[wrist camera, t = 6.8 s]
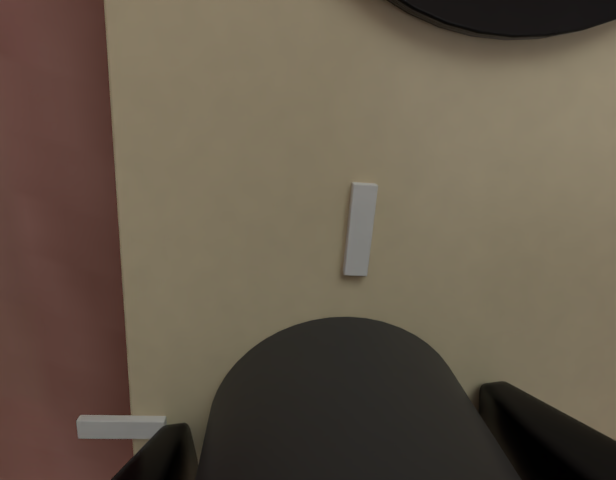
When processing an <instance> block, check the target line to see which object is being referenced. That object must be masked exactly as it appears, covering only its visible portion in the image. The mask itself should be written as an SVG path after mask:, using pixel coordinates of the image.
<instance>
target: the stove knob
mask: <svg viewBox="0 0 616 480" xmlns="http://www.w3.org/2000/svg"><path fill="white" fill-rule="evenodd" d="M195 480H521V478H520V477H519V475H518V474H517V472H516V470H515V469H514V467H513V466H512V464H511V463H510V461H509V460H508V458H507V456H506V455H505V453H504V452H503V450H502V449H501V447H500V445H499V444H498V442H497V441H496V439H495V438H494V436H493V435H492V433H491V431H490V430H489V428H488V427H487V425H486V424H485V422H484V421H483V419H482V417H481V416H480V414H479V413H478V411H477V410H476V408H475V406H474V405H473V403H472V402H471V400H470V399H469V397H468V396H467V394H466V392H465V391H464V389H463V388H462V386H461V385H460V383H459V382H458V380H457V378H456V377H455V375H454V374H453V372H452V371H451V369H450V367H449V366H448V365H447V363H446V362H445V361H444V360H443V358H442V357H441V356H440V355H439V354H438V353H437V352H436V351H435V350H434V349H433V348H432V347H431V346H430V345H429V344H428V343H426V342H425V341H423V340H422V339H420V338H419V337H417V336H416V335H414V334H412V333H410V332H408V331H406V330H404V329H402V328H400V327H397V326H394V325H391V324H388V323H386V322H383V321H378V320H373V319H368V318H359V317H329V318H322V319H316V320H311V321H307V322H304V323H300V324H296V325H294V326H291V327H289V328H286V329H284V330H281V331H279V332H277V333H275V334H273V335H272V336H270V337H268V338H266V339H264V340H263V341H261V342H260V343H259V344H257V345H256V346H255V347H253V348H252V349H250V350H249V351H248V352H247V353H246V354H245V355H244V356H243V357H242V358H241V359H240V360H238V361H237V362H236V363H235V365H234V366H233V367H232V368H231V370H230V371H229V372H228V373H227V375H226V376H225V378H224V379H223V381H222V383H221V384H220V386H219V388H218V390H217V392H216V395H215V397H214V400H213V402H212V405H211V410H210V414H209V418H208V423H207V428H206V432H205V437H204V441H203V446H202V451H201V455H200V460H199V464H198V469H197V474H196V478H195Z"/></svg>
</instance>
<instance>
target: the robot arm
mask: <svg viewBox="0 0 616 480" xmlns="http://www.w3.org/2000/svg"><path fill="white" fill-rule="evenodd" d="M479 414H480V416H481V417H482V419H483V421H484V422H485V424H486V425H487V427H488V428H489V430H490V431H491V433H492V435H493V436H494V438H495V439H496V441H497V442H498V444H499V445H500V447H501V449H502V450H503V452H504V453H505V455H506V456H507V458H508V460H509V461H510V463H511V464H512V466H513V467H514V469H515V470H516V472H517V474H518V475H519V477H520V478H521V480H616V440H614V439H612V438H610V437H608V436H606V435H604V434H603V433H601V432H599V431H597V430H595V429H593V428H591V427H590V426H588V425H586V424H584V423H582V422H580V421H578V420H577V419H575V418H573V417H571V416H569V415H567V414H565V413H564V412H562V411H560V410H558V409H556V408H554V407H552V406H551V405H549V404H547V403H545V402H543V401H541V400H539V399H538V398H536V397H534V396H532V395H530V394H528V393H526V392H525V391H523V390H521V389H519V388H517V387H515V386H513V385H512V384H510V383H508V382H505V381H498V382H490V383H484V384H482V385H481V387H480V390H479ZM197 469H198V459H197V455H196V450H195V446H194V442H193V438H192V433H191V429H190V427H189V425H188V424H187V423H176V424H169V425H164V426H163V427H161V428H160V429H159V430H158V431H157V432H156V433H155V434H154V435H153V436H152V437H151V438H150V440H149V441H148V442H147V443H146V444H145V445H144V446H143V447H142V448H141V449H140V450H139V451H138V452H137V453H136V454H135V455H134V456H133V457H132V458H131V459H130V460H129V461H128V462H127V463H126V464H125V466H124V467H123V468H122V469H121V470H120V471H119V472H118V473H117V474H116V475H115V476H114V477H113V478H112V479H111V480H195V478H196V474H197Z"/></svg>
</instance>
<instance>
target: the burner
mask: <svg viewBox="0 0 616 480" xmlns="http://www.w3.org/2000/svg"><path fill="white" fill-rule="evenodd" d="M387 1H388V2H390V3H391V4H393V5H394V6H396V7H398V8H399V9H401V10H402V11H404V12H405V13H407V14H409V15H412V16H414V17H416V18H418V19H421V20H423V21H425V22H427V23H430V24H432V25H434V26H436V27H438V28H442V29H446V30H449V31H453V32H457V33H460V34H464V35H468V36H472V37H480V38H489V39H497V40H528V39H541V38H547V37H553V36H558V35H564V34H569V33H574V32H579V31H583V30H586V29H589V28H592V27H595V26H598V25H601V24H604V23H608V22H611V21H614V20H616V0H387Z"/></svg>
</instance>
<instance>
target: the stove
mask: <svg viewBox="0 0 616 480" xmlns="http://www.w3.org/2000/svg"><path fill="white" fill-rule="evenodd" d="M104 12H105V27H106V42H107V57H108V73H109V88H110V103H111V118H112V134H113V149H114V164H115V179H116V194H117V210H118V225H119V240H120V255H121V271H122V286H123V301H124V316H125V332H126V347H127V362H128V377H129V392H130V408H131V415H80V416H79V417H78V419H77V421H76V425H77V433H78V438H79V439H133V453H134V455H135V454H136V453H137V452H138V451H139V450H140V449H141V448H142V447H143V446H144V445H145V444H146V443H147V442H148V441H149V440H150V438H151V437H152V436H153V435H154V434H155V433H156V432H157V431H158V430H159V429H160V428H161V427H163V426H164V425H169V424H176V423H187V424H188V425H189V427H190V429H191V433H192V438H193V442H194V446H195V450H196V455H197V459H198V464H199V460H200V455H201V451H202V446H203V441H204V437H205V432H206V428H207V423H208V418H209V414H210V410H211V405H212V402H213V400H214V397H215V395H216V392H217V390H218V388H219V386H220V384H221V383H222V381H223V379H224V378H225V376H226V375H227V373H228V372H229V371H230V370H231V368H232V367H233V366H234V365H235V363H236V362H237V361H238V360H240V359H241V358H242V357H243V356H244V355H245V354H246V353H247V352H248V351H249V350H250V349H252V348H253V347H255V346H256V345H257V344H259V343H260V342H261V341H263V340H264V339H266V338H268V337H270V336H272V335H273V334H275V333H277V332H279V331H281V330H284V329H286V328H289V327H291V326H294V325H296V324H300V323H304V322H307V321H311V320H316V319H322V318H329V317H359V318H368V319H373V320H378V321H383V322H386V323H388V324H391V325H394V326H397V327H400V328H402V329H404V330H406V331H408V332H410V333H412V334H414V335H416V336H417V337H419V338H420V339H422V340H423V341H425V342H426V343H428V344H429V345H430V346H431V347H432V348H433V349H434V350H435V351H436V352H437V353H438V354H439V355H440V356H441V357H442V358H443V360H444V361H445V362H446V363H447V365H448V366H449V367H450V369H451V371H452V372H453V374H454V375H455V377H456V378H457V380H458V382H459V383H460V385H461V386H462V388H463V389H464V391H465V392H466V394H467V396H468V397H469V399H470V400H471V402H472V403H473V405H474V406H475V408H476V410H477V411H478V413H479V390H480V387H481V385H482V384H484V383H490V382H498V381H505V382H508V383H510V384H512V385H513V386H515V387H517V388H519V389H521V390H523V391H525V392H526V393H528V394H530V395H532V396H534V397H536V398H538V399H539V400H541V401H543V402H545V403H547V404H549V405H551V406H552V407H554V408H556V409H558V410H560V411H562V412H564V413H565V414H567V415H569V416H571V417H573V418H575V419H577V420H578V421H580V422H582V423H584V424H586V425H588V426H590V427H591V428H593V429H595V430H597V431H599V432H601V433H603V434H604V435H606V436H608V437H610V438H612V439H614V440H616V20H614V21H611V22H608V23H604V24H601V25H598V26H595V27H592V28H589V29H586V30H583V31H579V32H574V33H569V34H564V35H558V36H553V37H547V38H541V39H528V40H497V39H489V38H480V37H472V36H468V35H464V34H460V33H457V32H453V31H449V30H446V29H442V28H438V27H436V26H434V25H432V24H430V23H427V22H425V21H423V20H421V19H418V18H416V17H414V16H412V15H409V14H407V13H405V12H404V11H402V10H401V9H399V8H398V7H396V6H394V5H393V4H391V3H390V2H388V1H387V0H104Z"/></svg>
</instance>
